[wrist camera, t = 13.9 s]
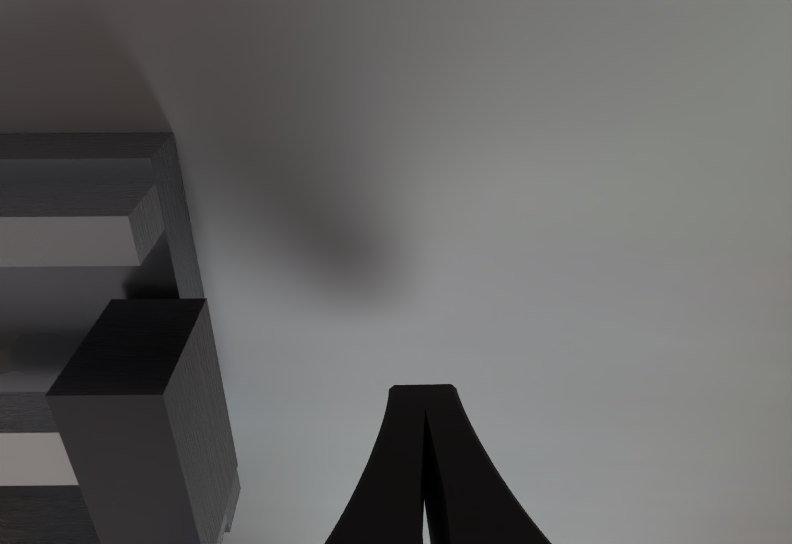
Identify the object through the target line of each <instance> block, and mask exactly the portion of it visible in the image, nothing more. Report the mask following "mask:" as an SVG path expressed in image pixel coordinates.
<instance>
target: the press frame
mask: <svg viewBox="0 0 792 544" xmlns="http://www.w3.org/2000/svg"><path fill="white" fill-rule="evenodd" d="M186 298H204V293H203V288H202V283H201V277H200V272H199V267H198V262H197V256H196V251H195V246H194V240H193V235H192V230H191V225H190V219H189V214H188V209H187V203H186V198H185V193H184V188H183V182H182V177H181V172H180V166H179V161H178V156H177V151H176V145H175V140H174V135H173V133H93V134H0V392H48V391H49V389H50V388H51V386H52V385H53V383H54V382H55V381H56V379H57V378H58V376H59V375H60V373H61V372H62V370H63V369H64V367H65V366H66V365H67V363H68V362H69V360H70V359H71V357H72V356H73V354H74V353H75V351H76V350H77V349H78V347H79V346H80V344H81V343H82V341H83V340H84V338H85V337H86V335H87V334H88V333H89V331H90V330H91V328H92V327H93V325H94V324H95V322H96V321H97V319H98V318H99V317H100V315H101V314H102V312H103V311H104V309H105V308H106V306H107V305H108V303H109V302H110V301H111V299H186ZM239 493H240V483H239V478H238V473H237V469H236V473H235V477H234V481H233V484H232V488H231V492H230V496H229V499H228V503H227V507H226V511H225V514H224V518H223V522H222V526H221V530H220V533H219V537H218V541H217V544H221V543H222V539H223V535H224V532H230V529H231V525H232V521H233V517H234V513H235V509H236V505H237V501H238V497H239ZM0 544H101V542H100V540H99V537H98V534H97V532H96V529H95V526H94V524H93V521H92V519H91V516H90V513H89V511H88V508H87V505H86V503H85V500H84V497H83V495H82V492H81V490H80V487H79V485H34V486H0Z"/></svg>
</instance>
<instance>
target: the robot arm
mask: <svg viewBox="0 0 792 544" xmlns="http://www.w3.org/2000/svg"><path fill="white" fill-rule="evenodd" d="M424 501H425V508H426V515H427V522H428V529H429V535H430V542H431V544H551V543H550V541H549V540H548V539H547V538H546V537H545V536H544V534H543V533H542V532H541V531H540V530H539V528H538V527H537V526H536V524H535V523H534V522H533V521H532V519H531V518H530V517H529V516H528V514H527V513H526V512H525V510H524V509H523V508H522V506H521V505H520V504H519V502H518V501H517V499H516V498H515V497H514V495H513V494H512V492H511V491H510V489H509V488H508V486H507V485H506V483H505V482H504V480H503V479H502V477H501V476H500V474H499V473H498V471H497V469H496V468H495V466H494V465H493V463H492V461H491V460H490V458H489V456H488V454H487V453H486V451H485V449H484V448H483V446H482V444H481V442H480V441H479V439H478V437H477V435H476V433H475V431H474V429H473V427H472V425H471V423H470V421H469V419H468V417H467V415H466V413H465V410H464V408H463V406H462V403H461V401H460V398H459V396H458V393H457V389H456V388H455V387H454V386H453V385H452V384H435V385H394V386H393V387H392V388H390V389H389V397H388V402H387V407H386V411H385V415H384V419H383V422H382V425H381V428H380V432H379V434H378V437H377V440H376V442H375V445H374V448H373V450H372V453H371V455H370V458H369V460H368V463H367V465H366V467H365V469H364V472H363V474H362V476H361V478H360V480H359V482H358V484H357V487H356V489H355V491H354V493H353V495H352V497H351V499H350V501H349V503H348V504H347V506H346V508H345V510H344V512H343V514H342V515H341V517H340V519H339V521H338V522H337V524H336V526H335V528H334V529H333V531H332V533H331V534H330V536H329V537H328V539H327V541H326V542H325V544H423V535H422V534H423V512H424Z"/></svg>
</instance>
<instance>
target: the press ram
mask: <svg viewBox="0 0 792 544" xmlns="http://www.w3.org/2000/svg"><path fill="white" fill-rule="evenodd" d="M237 465H238V464H237V459H236V453H235V448H234V443H233V437H232V432H231V427H230V421H229V416H228V411H227V405H226V400H225V394H224V389H223V384H222V378H221V373H220V368H219V362H218V357H217V352H216V346H215V341H214V336H213V330H212V325H211V320H210V314H209V309H208V304H207V298H186V299H111V301H110V302H109V303H108V305H107V306H106V308H105V309H104V311H103V312H102V314H101V315H100V317H99V318H98V319H97V321H96V322H95V324H94V325H93V327H92V328H91V330H90V331H89V333H88V334H87V335H86V337H85V338H84V340H83V341H82V343H81V344H80V346H79V347H78V349H77V350H76V351H75V353H74V354H73V356H72V357H71V359H70V360H69V362H68V363H67V365H66V366H65V367H64V369H63V370H62V372H61V373H60V375H59V376H58V378H57V379H56V381H55V382H54V383H53V385H52V386H51V388H50V389H49V391H48V392H0V486H34V485H79V487H80V490H81V492H82V495H83V497H84V500H85V503H86V505H87V508H88V511H89V513H90V516H91V519H92V521H93V524H94V526H95V529H96V532H97V534H98V537H99V540H100V542H101V544H217V541H218V537H219V533H220V530H221V526H222V522H223V518H224V514H225V511H226V507H227V503H228V499H229V496H230V492H231V488H232V484H233V481H234V477H235V473H236V469H237Z"/></svg>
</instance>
